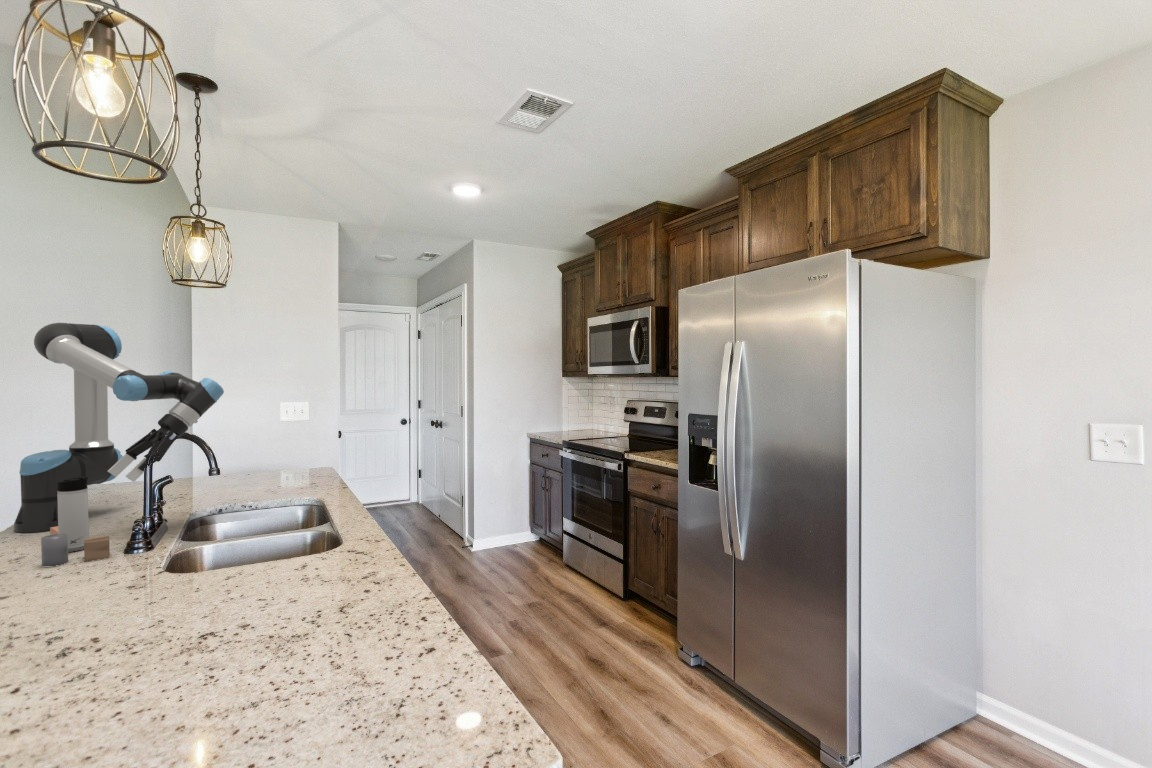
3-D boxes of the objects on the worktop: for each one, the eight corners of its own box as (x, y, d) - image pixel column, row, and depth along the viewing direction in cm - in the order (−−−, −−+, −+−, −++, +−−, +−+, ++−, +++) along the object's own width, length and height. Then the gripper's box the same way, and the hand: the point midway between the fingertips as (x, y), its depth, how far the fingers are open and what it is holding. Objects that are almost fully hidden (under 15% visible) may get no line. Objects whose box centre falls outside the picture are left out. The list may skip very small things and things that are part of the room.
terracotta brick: (50, 541, 164) (50, 527, 164) (68, 537, 168) (68, 524, 168) (58, 545, 160) (58, 531, 160) (77, 542, 163) (76, 528, 163)
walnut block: (84, 557, 150) (84, 538, 150) (109, 553, 153) (108, 535, 153) (84, 562, 146) (84, 543, 146) (109, 558, 149) (109, 539, 149)
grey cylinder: (48, 561, 146) (47, 534, 146) (72, 559, 148) (71, 532, 148) (37, 568, 142) (36, 540, 141) (62, 565, 143) (61, 538, 143)
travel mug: (78, 552, 153) (77, 479, 153) (52, 553, 153) (50, 479, 152) (96, 545, 160) (94, 474, 159) (71, 545, 159) (69, 475, 158)
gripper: (206, 430, 170) (148, 489, 159) (171, 426, 185) (116, 479, 173) (186, 414, 166) (125, 473, 154) (151, 410, 180) (93, 464, 168)
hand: (120, 476), depth 163 cm, fingers open, 13 cm apart
